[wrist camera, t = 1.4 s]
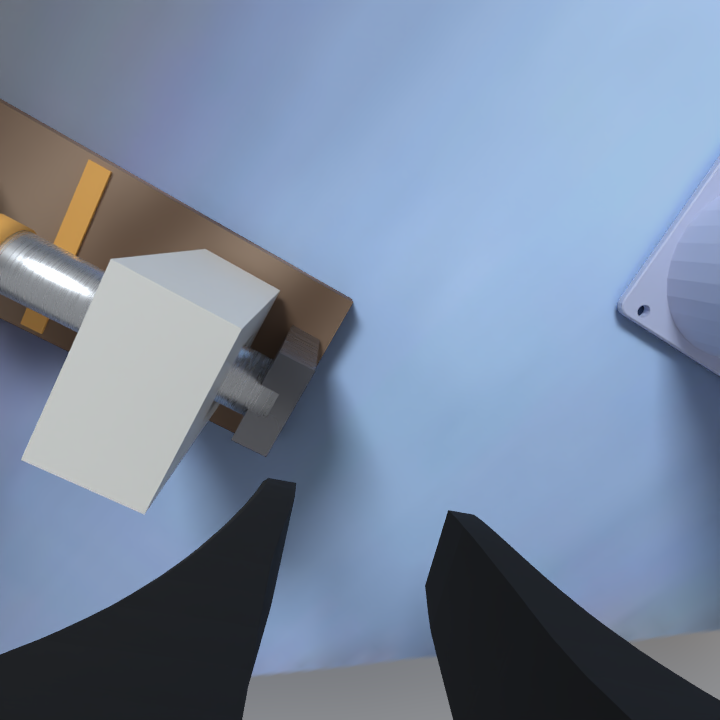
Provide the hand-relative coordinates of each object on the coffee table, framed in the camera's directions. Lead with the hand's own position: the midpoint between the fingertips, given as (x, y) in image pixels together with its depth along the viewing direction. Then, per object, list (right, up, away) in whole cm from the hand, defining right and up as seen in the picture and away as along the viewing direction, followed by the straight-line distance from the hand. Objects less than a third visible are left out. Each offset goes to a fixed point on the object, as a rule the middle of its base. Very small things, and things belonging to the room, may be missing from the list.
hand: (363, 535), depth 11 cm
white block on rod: (-6, +5, +7) cm, 10 cm away
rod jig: (-9, +7, +8) cm, 14 cm away
